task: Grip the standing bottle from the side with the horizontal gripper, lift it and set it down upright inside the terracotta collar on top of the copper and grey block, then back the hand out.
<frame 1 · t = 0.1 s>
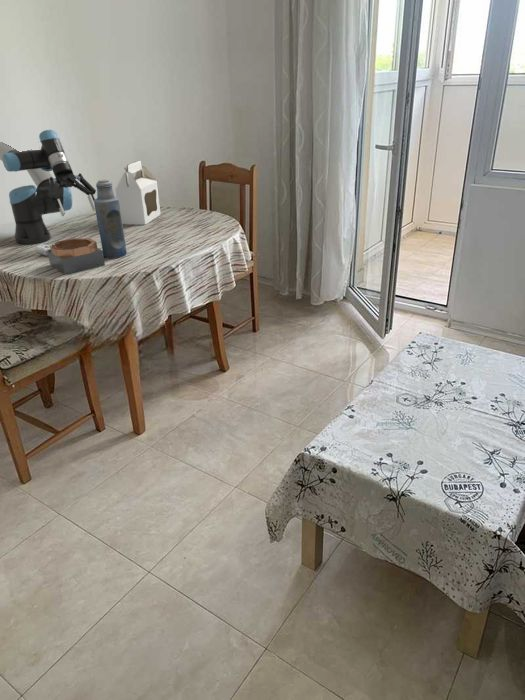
hand: (79, 212, 223), 15 cm above the table, fingers open, 13 cm apart
gable box: (141, 219, 273), on the table
bottle: (115, 255, 219), on the table
copper and grey block: (77, 265, 208), on the table
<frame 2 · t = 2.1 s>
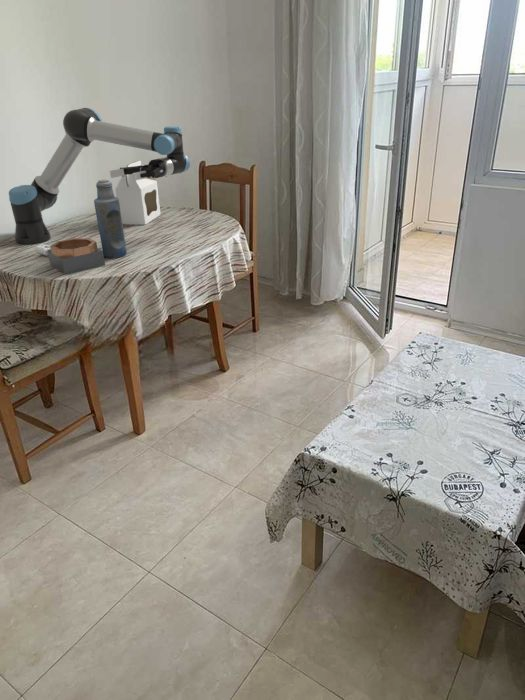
hand: (121, 175, 212), 30 cm above the table, fingers open, 13 cm apart
nothing on the table moved.
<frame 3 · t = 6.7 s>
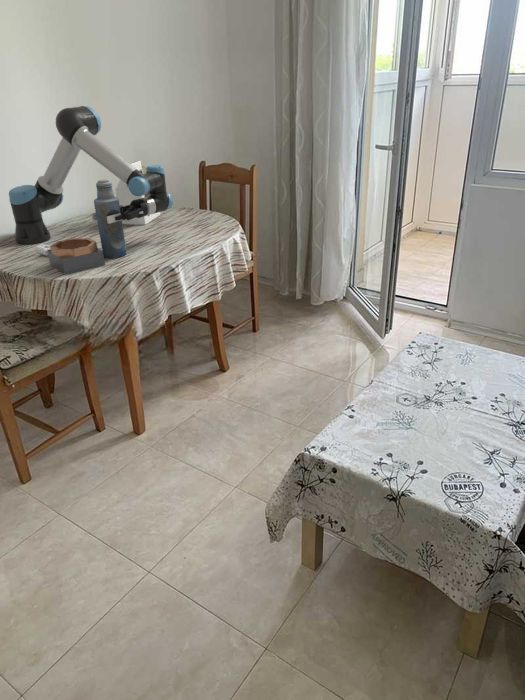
hand: (99, 218, 208), 16 cm above the table, fingers closed on bottle, 9 cm apart
bottle: (115, 255, 219), on the table, touching gripper
everything else where it was.
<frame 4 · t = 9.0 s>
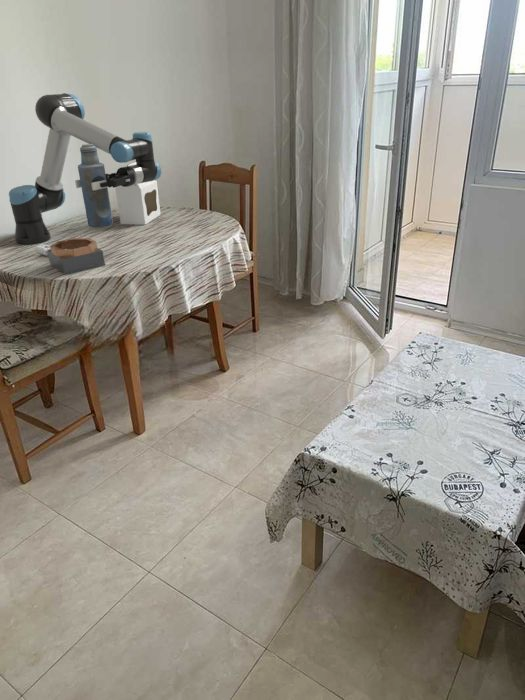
hand: (84, 185, 198), 30 cm above the table, fingers closed on bottle, 9 cm apart
bottle: (100, 225, 209), point 13 cm above the table, touching gripper
everything else where it was.
when the fingers open (23 cm above the table, at t = 11.7 s): bottle moves 2 cm, resting on copper and grey block.
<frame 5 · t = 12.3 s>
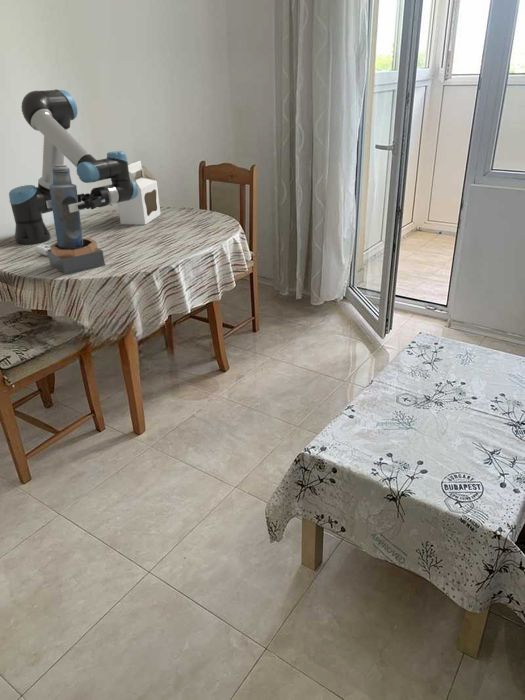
hand: (58, 206, 195), 23 cm above the table, fingers open, 13 cm apart
bottle: (70, 246, 206), point 7 cm above the table, touching gripper, copper and grey block
everything else where it was.
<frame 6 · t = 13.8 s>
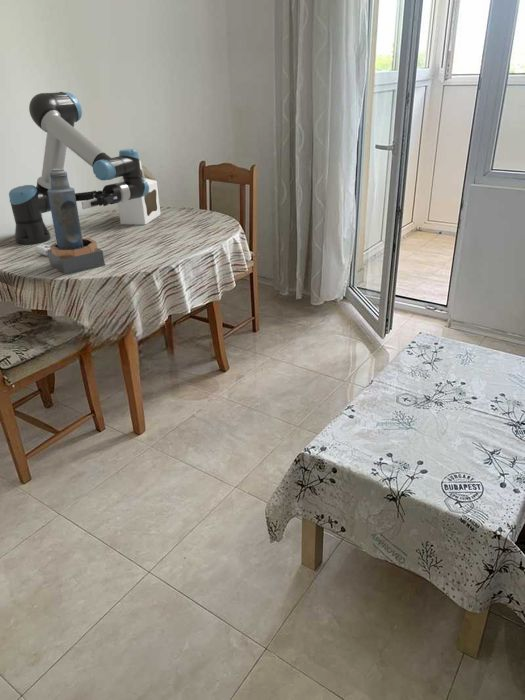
hand: (71, 203, 199), 24 cm above the table, fingers open, 13 cm apart
bottle: (71, 249, 206), point 6 cm above the table, touching copper and grey block
everything else where it was.
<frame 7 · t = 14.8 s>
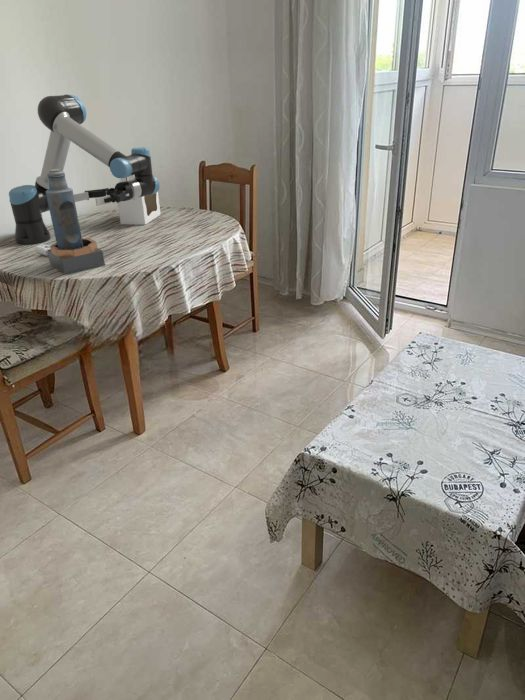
hand: (85, 200, 204), 24 cm above the table, fingers open, 13 cm apart
nothing on the table moved.
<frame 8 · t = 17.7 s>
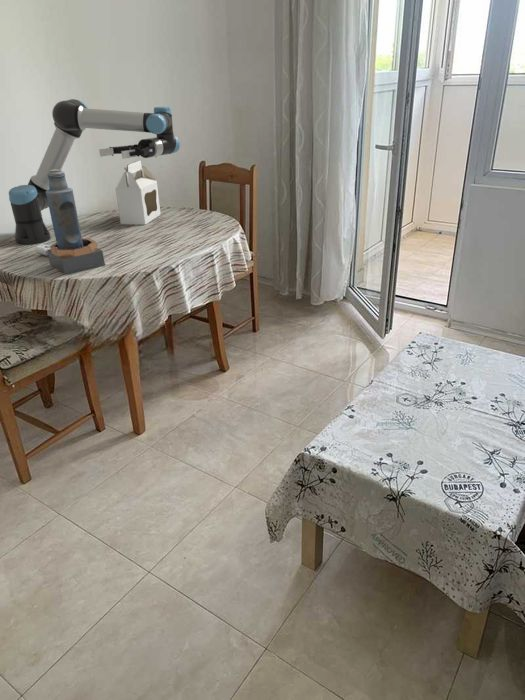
hand: (111, 154, 213), 38 cm above the table, fingers open, 13 cm apart
nothing on the table moved.
at the end: bottle 1.9 cm off-centre on the copper and grey block, point 5.8 cm above the copper and grey block's base; bottle tilted 0°; the gripper is holding nothing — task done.
